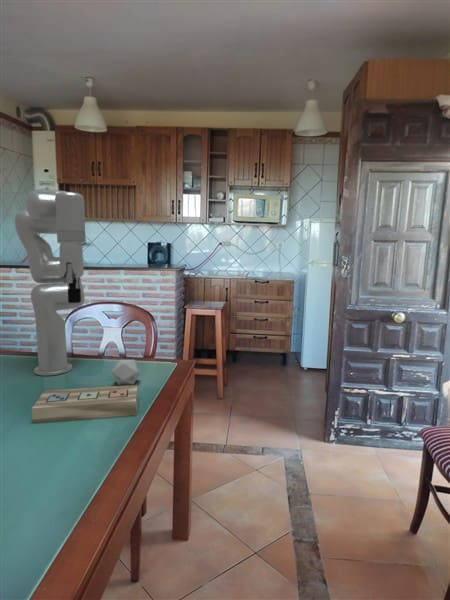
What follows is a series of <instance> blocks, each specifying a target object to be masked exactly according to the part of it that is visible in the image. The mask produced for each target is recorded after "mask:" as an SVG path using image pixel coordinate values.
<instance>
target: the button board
mask: <svg viewBox="0 0 450 600" xmlns="http://www.w3.org/2000/svg"><path fill="white" fill-rule="evenodd" d="M138 388H139V387H138V384H134V385H114V386H100V387H86V388H85V387H84V388H70V389H69V388H68V389H53V390H52V389H51V390H49V389H48V390H44V391H43V392H42V393H41V395H40V396H39V398H38V399H37V401H36V402H35V403H34V405H33V406H32V407H31V418H32V419H31V421H32V424H39V423H50V422H51V423H52V422H65V421H66V422H67V421H77V420H90V419H91V420H93V419H101V418H102V419H104V418H105V419H106V418H118V417H128V416H137V413H138V412H137V410H138V401H139V397H138V396H139V395H138V394H139V393H138ZM119 390H127V397H116V398H110V393H111V391H119ZM87 392H98V398H97V399H87V400H79V398H80V395H81V393H87ZM54 394H68V398H67V400H66V401H57V402H47V401H48V399H49V398H50V396H51V395H54Z"/></svg>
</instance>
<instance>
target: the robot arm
mask: <svg viewBox="0 0 450 600" xmlns="http://www.w3.org/2000/svg"><path fill="white" fill-rule="evenodd" d="M25 208H26V209H24V210H20V211H18V212H17V213H16V214H15V217H14V225H15V230H16V234H17V237H18V238H19V241H20V242H21V244H22V246H23V247H24V249H25V252H26V255H27V262H28V266H29V267H28V268H29V271H30V274H31V278H32V280H33V281H34V282H35V283H37V284H38V285H36V286H34V287H33V288H32V289H31V292H30V298H31V299H30V301H31V305H32V309H33V313H34V319H35V331H36V332H35V333H36V345H37V346H36V347H37V348H36V349H37V360H38V361H37V362H38V365H37V366H36V367H35V368H34V369H33V372H34V374H35V375H38V376H42V377H43V376H57V375H62V374H65V373H68V372H70V371H71V370H72V369H73V364H72V363H70V362H68V354H67V353H68V351H67V338H66V336H67V335H66V323H65V320H64V318H63V316H61V315H60V314H59V313H58V312H57V311H61V310H69V309H77V308H81V307H82V306H84V304H85V300H86V299H85V292H84V287H83V284H82V279H81V277H83V276H84V250H83V244H87V240H86V239H87V237H86V219H85V218H86V217H85V200H84V196H83V194H81V193H78V192H71V191H65V190H59V189H58V190H57V189H46V188H45V189H44V188H37V189H34V190H31V191H29V192H28V193H27V195H26V200H25ZM39 234H44V235H45V234H46V235H47V234H48V235H50V234H51V235H54V234H55V235H56V241H57V244H59V251H58V252H59V254H58V255H59V256H54V254H53V250H52V247H51V245H50V244H49V242H47V240H45V239H44V238H43V237H42V236H41V235H39Z"/></svg>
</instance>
